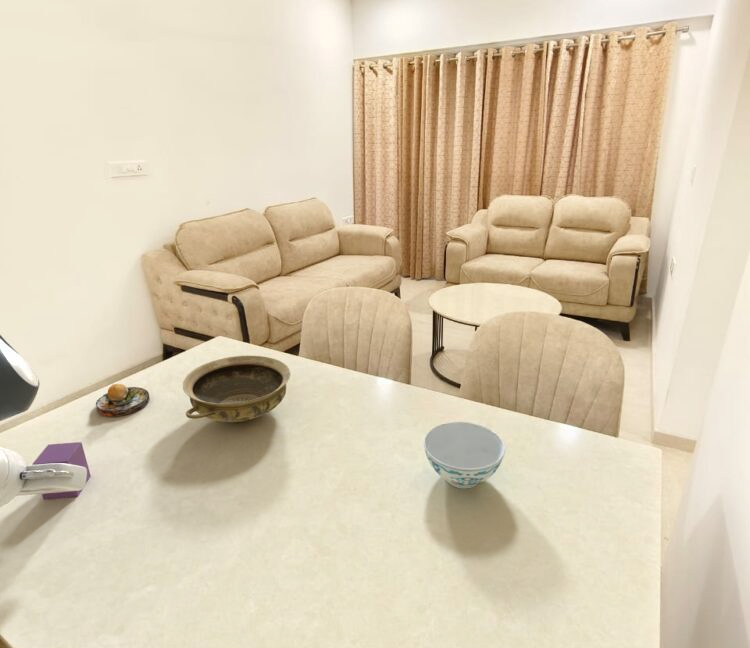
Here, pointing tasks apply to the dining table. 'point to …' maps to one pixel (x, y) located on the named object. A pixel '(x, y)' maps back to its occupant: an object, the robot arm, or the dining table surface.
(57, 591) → the dining table surface
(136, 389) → the dark lid with knob
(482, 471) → the chinaware
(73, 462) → the block
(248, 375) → the ceramic bowl
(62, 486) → the robot arm
